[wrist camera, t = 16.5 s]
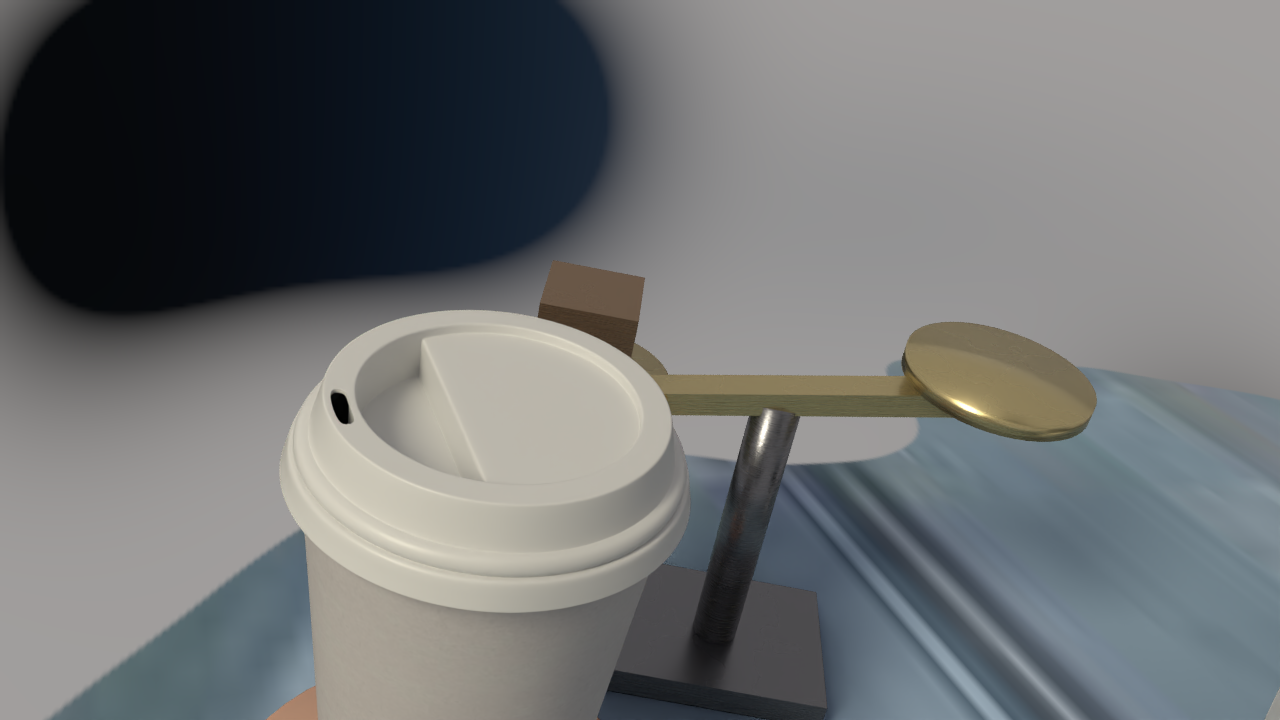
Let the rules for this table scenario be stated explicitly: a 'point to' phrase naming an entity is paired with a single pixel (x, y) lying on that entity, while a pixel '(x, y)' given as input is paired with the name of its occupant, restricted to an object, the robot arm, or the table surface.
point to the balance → (726, 595)
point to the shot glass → (1274, 708)
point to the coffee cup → (479, 516)
